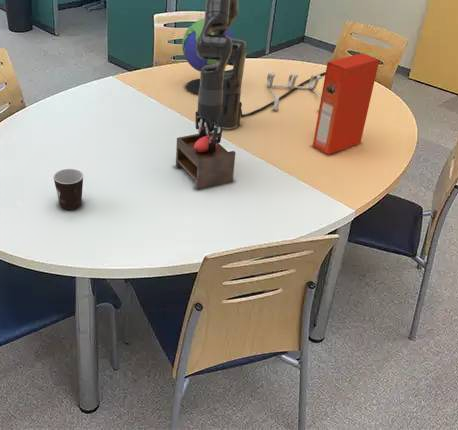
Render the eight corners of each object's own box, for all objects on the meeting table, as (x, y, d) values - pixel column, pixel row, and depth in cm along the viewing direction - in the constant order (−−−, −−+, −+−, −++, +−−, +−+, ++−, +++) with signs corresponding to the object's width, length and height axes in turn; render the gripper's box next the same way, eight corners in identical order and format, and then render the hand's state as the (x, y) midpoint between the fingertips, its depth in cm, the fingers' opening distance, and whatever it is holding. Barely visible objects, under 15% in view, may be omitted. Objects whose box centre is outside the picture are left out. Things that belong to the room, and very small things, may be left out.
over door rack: (313, 86, 262) (317, 65, 256) (325, 114, 238) (330, 92, 232) (265, 84, 262) (268, 63, 256) (272, 112, 238) (276, 89, 232)
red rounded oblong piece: (221, 156, 190) (224, 136, 189) (200, 152, 184) (203, 132, 184) (211, 154, 194) (214, 135, 193) (190, 151, 189) (193, 131, 188)
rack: (209, 159, 203) (211, 131, 197) (232, 181, 192) (235, 152, 185) (175, 166, 198) (176, 137, 192) (197, 190, 187) (199, 159, 180)
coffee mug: (57, 197, 180) (54, 168, 175) (85, 196, 181) (84, 168, 175) (54, 218, 171) (51, 189, 165) (83, 218, 172) (81, 189, 166)
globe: (182, 76, 266) (186, 9, 249) (231, 80, 264) (238, 12, 247) (177, 96, 248) (180, 24, 231) (230, 100, 246) (237, 28, 229)
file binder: (311, 146, 214) (327, 61, 196) (343, 135, 223) (361, 52, 205) (328, 155, 209) (346, 69, 191) (360, 143, 218) (380, 59, 199)
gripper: (232, 107, 176) (227, 156, 186) (209, 89, 187) (206, 136, 196) (210, 110, 174) (207, 160, 183) (188, 92, 184) (186, 140, 194)
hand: (206, 148), depth 190 cm, fingers open, 6 cm apart
